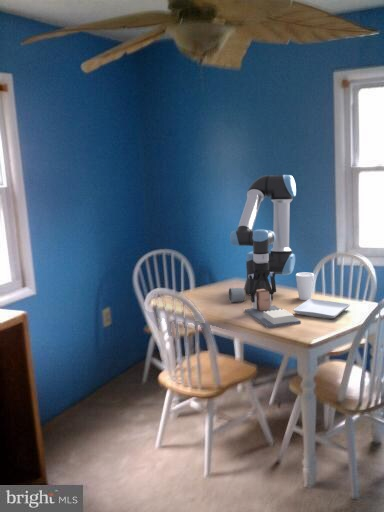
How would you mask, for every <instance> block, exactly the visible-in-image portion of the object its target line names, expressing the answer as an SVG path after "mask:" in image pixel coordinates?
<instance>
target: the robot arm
mask: <svg viewBox="0 0 384 512" xmlns="http://www.w3.org/2000/svg"><path fill="white" fill-rule="evenodd" d="M296 195H297V186H296V181H295V178H294V177H293V175H291V174H273V175H272V174H270V175H262V176H259V177H258V178H257V179H255V180H254V181H253V182H252V184H250V186H249V187H248V189H247V192H246V197H247V198H246V201H245V204H244V207H243V211H242V213H241V216H240V220H239V223H238V226H237V229H236V230H232V231H231V232H230V234H229V240H230V244H231V245H232V246H241V247H242V246H243V247H244V246H246V247H248V246H249V247H252V251H249V252H248V253H246V256H245V257H246V259H245V265H246V266H245V267H246V280H245V283H244V287H243V288H244V289H245V291H246V295H249V296H251V297H250V298H251V300H250V301H251V303H252V308H254V309H257V296H255V294H256V290H259V289H265V290H267V291H269V307H271V306H272V301H273V300H274V298H273V297H274V296H273V295H274V293H276V292H277V287H276V278H275V277H276V275H277V276H278V275H281V276H289V275H291V274H292V273H293V271H294V270H295V264H296V254H294V253H293V250H292V249H291V248H290V215H291V213H290V212H291V210H290V209H291V208H290V205H291V204H290V203H291V202H292V201H293V199H294V197H296ZM269 197H270V201H271V202H272V203H273V227H272V228H273V230H270V229H265V228H264V229H255V230H253V229H254V225H255V223H256V219H257V215H258V212H259V209H260V206H261V202H263V201H264V199H265V198H269ZM270 246H273V247H272V248H271V249H270V250H269V247H270ZM269 251H270V252H269ZM268 277H270V279H269V278H268Z"/></svg>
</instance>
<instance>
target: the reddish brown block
mask: <svg viewBox="0 0 384 512" xmlns="http://www.w3.org/2000/svg"><path fill="white" fill-rule="evenodd" d="M255 296H257V309H258V310H260V311H262V310H269V309H270V308H269V291H267V290H265V289H259V290H256V294H255Z"/></svg>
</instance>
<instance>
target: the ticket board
mask: <svg viewBox="0 0 384 512" xmlns="http://www.w3.org/2000/svg"><path fill="white" fill-rule="evenodd" d="M269 308H270V309H269V310H262V311H260V310H258V309H254V308H253V307H251V308H245V309H244V310H243V311H244V312H245V313H246V314H247V315H249V316H250V317H251V318H253V319H254V320H256V321H257V322H258V323H260V324H262V325H263V326H264V327H266V328H267V329H270V328H277V327H278V328H279V327H284V326H291V325H298V324H299V325H300V324H301V323H302V322H301V320H300V319H298V318H296V317H295V315H294V314H293V313H291V312H290V311H288V310H286V309H284V308H280V307H278V306H276V305H274V304H273V305H271V307H269Z"/></svg>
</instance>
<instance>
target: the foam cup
mask: <svg viewBox="0 0 384 512" xmlns="http://www.w3.org/2000/svg"><path fill="white" fill-rule="evenodd" d="M295 280H296V287H297V293H298V299H299V300H302V301H307V300H309V299H312V297H313V288H314V280H315V274H314V273H313V272H305V271H304V272H303V271H302V272H297V273H296V274H295Z"/></svg>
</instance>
